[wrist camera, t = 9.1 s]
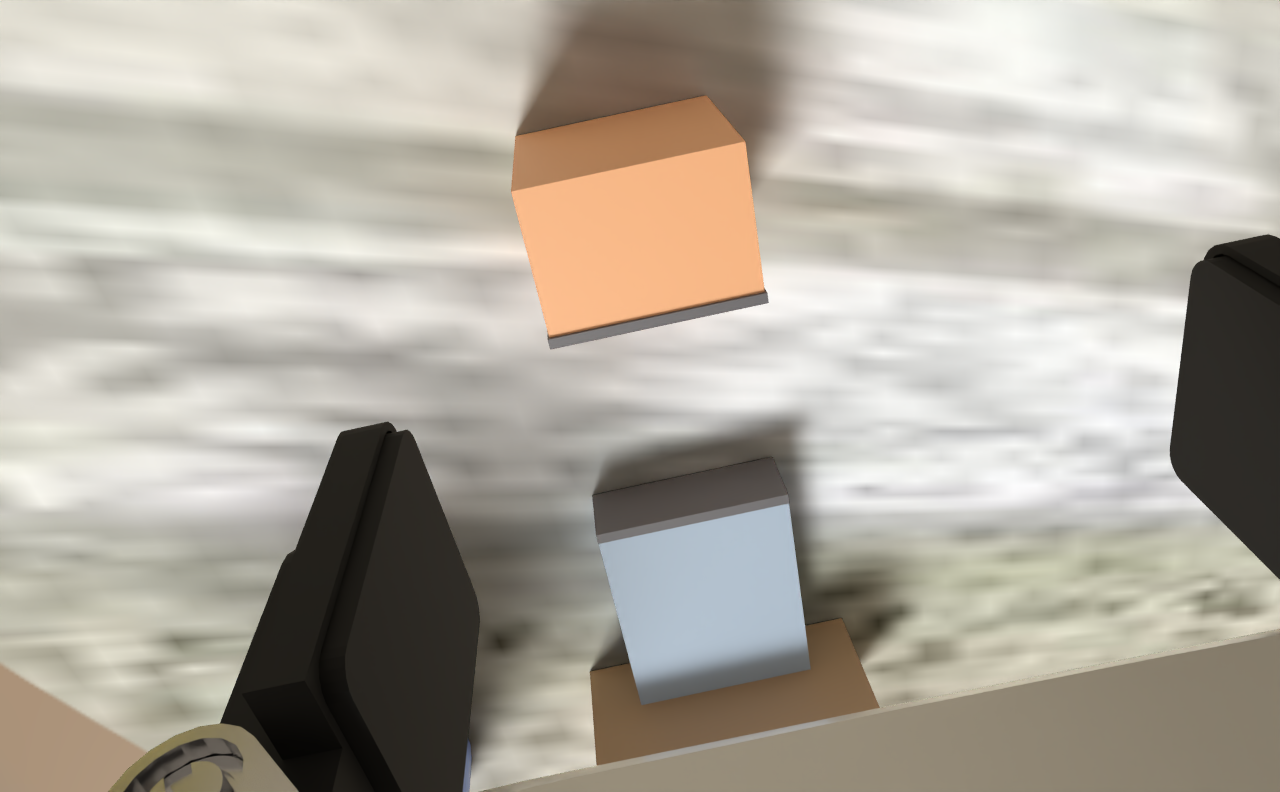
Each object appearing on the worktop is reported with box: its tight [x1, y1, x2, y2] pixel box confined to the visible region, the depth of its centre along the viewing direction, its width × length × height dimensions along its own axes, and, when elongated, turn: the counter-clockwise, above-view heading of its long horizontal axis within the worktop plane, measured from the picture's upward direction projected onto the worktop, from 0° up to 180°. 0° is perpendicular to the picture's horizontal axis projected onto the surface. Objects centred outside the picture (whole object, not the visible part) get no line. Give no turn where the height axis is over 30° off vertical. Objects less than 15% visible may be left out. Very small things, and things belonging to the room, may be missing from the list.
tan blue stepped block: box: [590, 457, 880, 766], centre depth 36 cm, size 11×12×5 cm
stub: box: [511, 95, 768, 350], centre depth 27 cm, size 6×4×6 cm
